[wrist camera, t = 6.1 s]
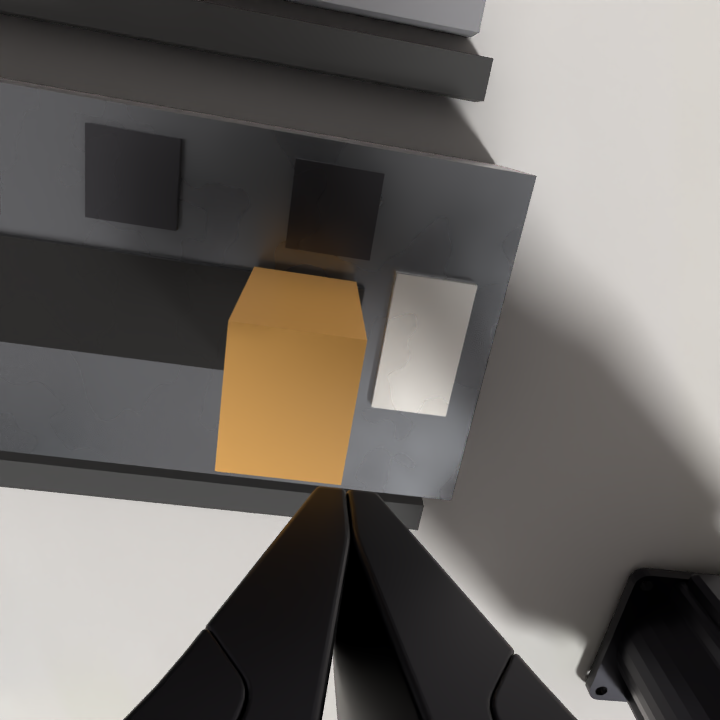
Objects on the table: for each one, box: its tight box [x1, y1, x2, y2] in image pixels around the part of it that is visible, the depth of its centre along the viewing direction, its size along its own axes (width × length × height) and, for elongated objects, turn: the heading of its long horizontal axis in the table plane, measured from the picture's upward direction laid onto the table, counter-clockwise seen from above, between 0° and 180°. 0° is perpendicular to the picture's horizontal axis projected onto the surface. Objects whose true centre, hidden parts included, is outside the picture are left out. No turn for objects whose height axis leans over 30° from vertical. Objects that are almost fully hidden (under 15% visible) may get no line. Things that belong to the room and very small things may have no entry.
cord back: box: [0, 451, 424, 530], centre depth 20 cm, size 1×14×1 cm, turn 80°
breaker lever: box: [215, 267, 367, 485], centre depth 13 cm, size 3×2×4 cm
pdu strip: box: [0, 78, 536, 500], centre depth 16 cm, size 9×18×4 cm, turn 81°
